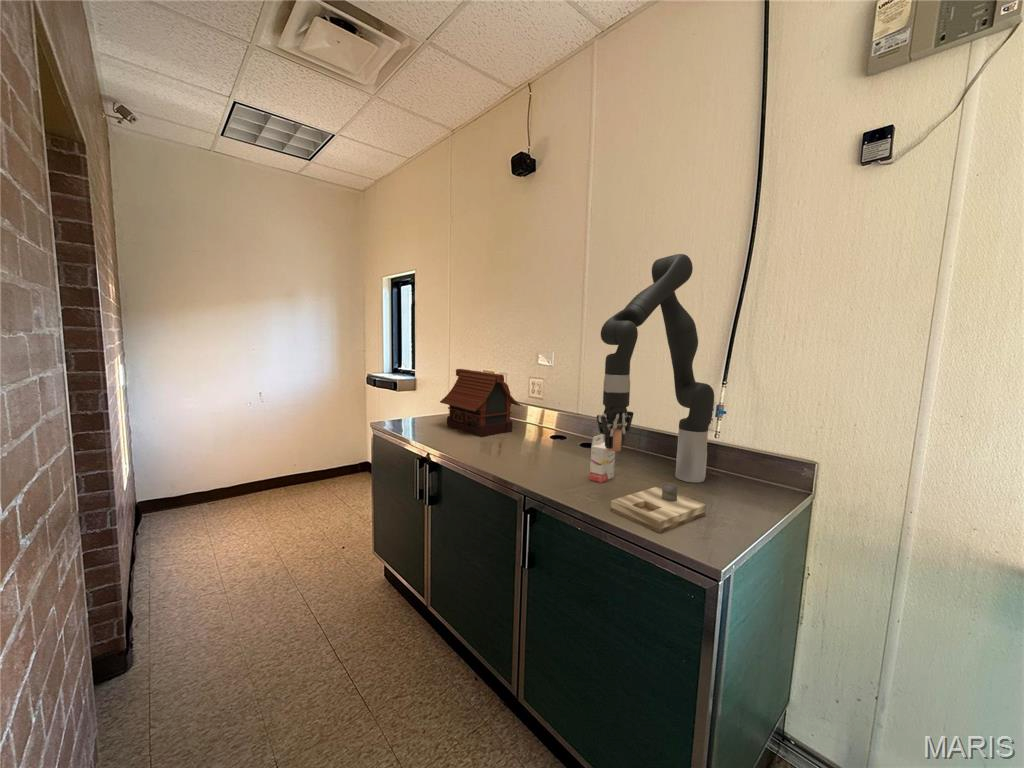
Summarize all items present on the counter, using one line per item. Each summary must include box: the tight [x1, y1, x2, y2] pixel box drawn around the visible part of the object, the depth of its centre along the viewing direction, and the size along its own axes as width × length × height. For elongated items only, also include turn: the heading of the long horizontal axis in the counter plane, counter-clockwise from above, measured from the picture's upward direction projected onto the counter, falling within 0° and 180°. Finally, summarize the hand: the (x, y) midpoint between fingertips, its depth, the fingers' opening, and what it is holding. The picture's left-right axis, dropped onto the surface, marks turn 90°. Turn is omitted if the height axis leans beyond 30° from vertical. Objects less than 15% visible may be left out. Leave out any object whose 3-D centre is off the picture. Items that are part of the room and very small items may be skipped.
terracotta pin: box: [607, 428, 622, 452], centre depth 127 cm, size 4×4×6 cm
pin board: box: [610, 482, 707, 534], centre depth 118 cm, size 20×16×7 cm
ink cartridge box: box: [589, 434, 616, 484], centre depth 145 cm, size 9×5×15 cm, turn 141°
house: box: [439, 368, 521, 438], centre depth 215 cm, size 35×28×29 cm
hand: (614, 446), depth 127 cm, fingers closed on terracotta pin, 4 cm apart
